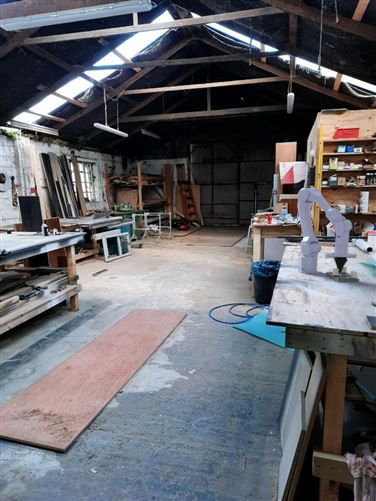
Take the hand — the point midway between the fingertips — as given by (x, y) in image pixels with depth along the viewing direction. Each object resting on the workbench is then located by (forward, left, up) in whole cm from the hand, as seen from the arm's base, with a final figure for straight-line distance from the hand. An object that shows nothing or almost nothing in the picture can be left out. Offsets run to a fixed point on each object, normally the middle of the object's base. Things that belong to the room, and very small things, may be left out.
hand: (339, 272), depth 158 cm
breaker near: (+4, -6, -1) cm, 7 cm away
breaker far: (+4, +5, -1) cm, 7 cm away
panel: (+1, 0, -3) cm, 3 cm away
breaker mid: (-2, 0, -1) cm, 2 cm away
